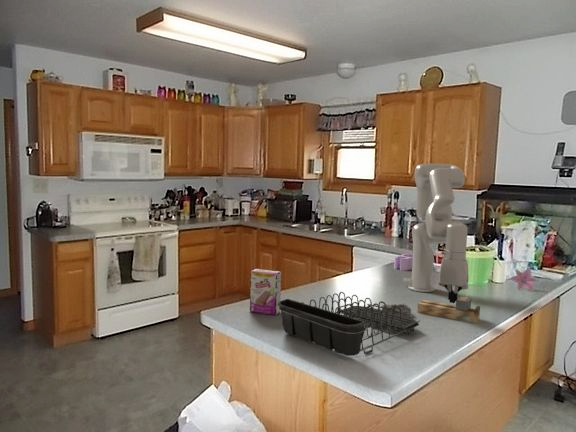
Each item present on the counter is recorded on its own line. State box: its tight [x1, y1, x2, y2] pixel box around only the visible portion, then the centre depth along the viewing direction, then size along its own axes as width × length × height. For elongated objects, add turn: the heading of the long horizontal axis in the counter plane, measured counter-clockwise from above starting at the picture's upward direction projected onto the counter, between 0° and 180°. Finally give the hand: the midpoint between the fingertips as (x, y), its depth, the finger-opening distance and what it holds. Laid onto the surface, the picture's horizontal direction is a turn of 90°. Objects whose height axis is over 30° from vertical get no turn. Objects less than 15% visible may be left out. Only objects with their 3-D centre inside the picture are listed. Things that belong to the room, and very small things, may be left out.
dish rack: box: [278, 291, 421, 357], centre depth 154 cm, size 34×44×12 cm
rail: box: [417, 299, 481, 324], centre depth 175 cm, size 22×6×5 cm, turn 58°
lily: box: [509, 267, 539, 293], centre depth 219 cm, size 12×12×10 cm
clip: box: [393, 253, 413, 271], centre depth 262 cm, size 20×12×7 cm, turn 129°
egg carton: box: [380, 303, 413, 318], centre depth 175 cm, size 11×8×4 cm
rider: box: [455, 296, 472, 311], centre depth 172 cm, size 4×6×5 cm
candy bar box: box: [249, 268, 282, 316], centre depth 174 cm, size 11×5×16 cm, turn 71°
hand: (452, 302), depth 174 cm, fingers closed
